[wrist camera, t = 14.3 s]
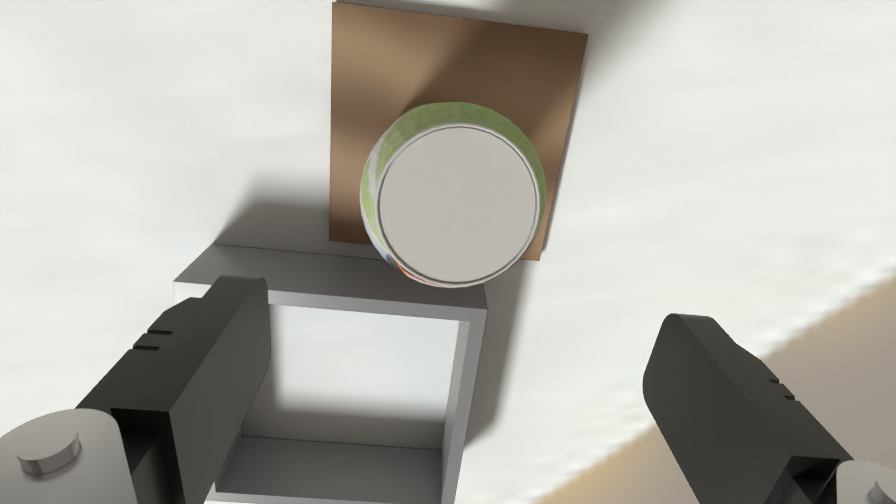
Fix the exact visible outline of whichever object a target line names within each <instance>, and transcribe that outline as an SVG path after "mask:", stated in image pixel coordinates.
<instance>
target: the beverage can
mask: <svg viewBox="0 0 896 504" xmlns="http://www.w3.org/2000/svg"><path fill="white" fill-rule="evenodd" d="M545 205H546V182H545V176H544V170H543V168H542V165H541V162H540V159H539V156H538V154H537V152H536V151H535V149H534V147H533V145H532V144H531V142H530V140H529V139H528V138H527V137H526V136H525V134H524V133H523V132H522V131H521V130H520V129H519V128H518V127H517V126H516V125H515V124H513V123H512V122H511V121H510V120H509V119H507V118H506V117H504V116H503V115H501V114H499V113H497V112H495V111H493V110H491V109H489V108H486V107H483V106H480V105H476V104H471V103H464V102H444V103H428V104H424V105H420V106H417V107H415V108H412V109H410V110H408V111H406V112H405V113H404V114H402V115H401V116H399V117H398V118H397V119H396V120H395V121H394V122H393V123H392V124H391V125H390V126H389V128H388V129H387V130H386V131H385V132H384V133H383V135H382V136H381V137H380V139H379V140H378V142H377V143H376V145H375V146H374V147H373V149H372V151H371V153H370V155H369V157H368V159H367V161H366V164H365V167H364V171H363V174H362V178H361V185H360V206H361V215H362V218H363V222H364V225H365V228H366V231H367V233H368V235H369V237H370V239H371V241H372V243H373V245H374V246H375V247H376V249H377V250H378V251H379V253H380V254H381V256H382V257H383V258H384V259H385V260H386V261H387V262H388V263H389V264H390V265H392V266H393V267H394V268H395V269H396V270H398V271H399V272H401V273H402V274H404V275H405V276H407V277H409V278H411V279H414V280H416V281H418V282H420V283H424V284H427V285H431V286H435V287H445V288H458V287H468V286H472V285H476V284H480V283H483V282H486V281H488V280H490V279H493V278H495V277H497V276H498V275H500V274H501V273H503V272H505V271H506V270H508V269H509V268H510V267H511V266H513V265H514V264H515V263H516V262H517V261H518V260H519V259H520V258H521V257H522V256H523V255H524V253H525V252H526V251H527V250H528V249H529V247H530V246H531V244H532V242H533V241H534V239H535V237H536V235H537V233H538V231H539V228H540V226H541V223H542V220H543V216H544V211H545Z"/></svg>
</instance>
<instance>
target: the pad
mask: <svg viewBox="0 0 896 504" xmlns="http://www.w3.org/2000/svg"><path fill="white" fill-rule="evenodd" d="M587 38H588V34H583V33H575V32H567V31H559V30H551V29H543V28H535V27H528V26H520V25H512V24H504V23H496V22H488V21H480V20H472V19H465V18H457V17H449V16H441V15H433V14H425V13H417V12H410V11H402V10H394V9H386V8H378V7H370V6H362V5H354V4H347V3H339V2H332V65H331V147H330V229H329V241H338V242H348V243H359V244H369V245H373V243H372V241H371V239H370V237H369V235H368V233H367V231H366V228H365V225H364V222H363V218H362V215H361V206H360V185H361V178H362V174H363V171H364V167H365V164H366V161H367V159H368V157H369V155H370V153H371V151H372V149H373V147H374V146H375V145H376V143H377V142H378V140H379V139H380V137H381V136H382V135H383V133H384V132H385V131H386V130H387V129H388V128H389V126H390V125H391V124H392V123H393V122H394V121H395V120H396V119H397V118H398V117H399V116H401V115H402V114H404V113H405V112H406V111H408V110H410V109H412V108H415V107H417V106H420V105H424V104H428V103H444V102H464V103H471V104H476V105H480V106H483V107H486V108H489V109H491V110H493V111H495V112H497V113H499V114H501V115H503V116H504V117H506V118H507V119H509V120H510V121H511V122H512V123H513V124H515V125H516V126H517V127H518V128H519V129H520V130H521V131H522V132H523V133H524V134H525V136H526V137H527V138H528V139H529V140H530V142H531V144H532V145H533V147H534V149H535V151H536V152H537V154H538V156H539V159H540V162H541V165H542V168H543V170H544V176H545V182H546V205H545V211H544V216H543V220H542V223H541V226H540V228H539V231H538V233H537V235H536V237H535V239H534V241H533V242H532V244H531V246H530V247H529V249H528V250H527V251H526V252H525V253H524V255H523V256H522V257H521V258H520V259H525V260H535V261H540V256H541V251H542V247H543V242H544V237H545V233H546V228H547V224H548V219H549V214H550V210H551V205H552V200H553V196H554V191H555V186H556V182H557V177H558V172H559V168H560V163H561V159H562V154H563V149H564V145H565V140H566V135H567V131H568V126H569V121H570V117H571V112H572V107H573V103H574V98H575V94H576V89H577V84H578V80H579V75H580V70H581V66H582V61H583V56H584V52H585V47H586V42H587Z"/></svg>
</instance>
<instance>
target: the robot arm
mask: <svg viewBox="0 0 896 504" xmlns="http://www.w3.org/2000/svg"><path fill="white" fill-rule="evenodd" d="M270 351H271V336H270V319H269V302H268V287H267V282H266V280H265V278H264V277H256V276H244V275H233V274H222V275H220V276H219V278H218V279H217V280H216V281H215V282H214V284H213V285H212V286H211V287H210V288H209V289H208V291H207V292H206V293H205V294H204V295H203V297H202V298H196V297H189V298H187V299H185V300H184V301H182V302H180V303H178V304H176V305H175V306H173V307H171V308H169V309H168V310H166V311H164V312H163V313H162V314H161V315H160V317H159V318H158V319H157V320H156V321H155V322H154V323H153V324H152V325H151V326H150V327H149V328H148V331H147V333H144V334H143V335H142V336H141V337H140V338H139V339H138V340H137V341H136V343H135V344H134V345H133V349H129V350H128V351H127V352H126V353H125V354H124V356H123V357H122V358H121V359H120V360H119V361H118V362H117V363H116V364H115V365H114V366H113V367H112V369H111V370H110V371H109V372H108V373H107V374H106V375H105V376H104V377H103V378H102V379H101V380H100V382H99V383H98V384H97V385H96V386H95V387H94V388H93V389H92V390H91V391H90V392H89V394H88V395H87V396H86V397H85V398H84V399H83V400H82V401H81V402H80V403H79V404H78V405H77V407H76V408H75V409H69V410H63V411H58V412H54V413H50V414H47V415H44V416H41V417H38V418H35V419H33V420H31V421H29V422H26V423H24V424H22V425H20V426H18V427H17V428H15V429H13V430H11V431H10V432H8V433H7V434H5V435H4V436H2V437H1V438H0V504H204V502H205V499H206V497H207V495H208V493H209V491H210V489H211V487H212V485H213V483H214V481H215V479H216V477H217V474H218V472H219V470H220V468H221V466H222V464H223V462H224V460H225V458H226V456H227V454H228V451H229V449H230V447H231V445H232V443H233V441H234V439H235V437H236V435H237V433H238V431H239V429H240V426H241V424H242V422H243V420H244V418H245V416H246V414H247V412H248V410H249V408H250V406H251V403H252V401H253V399H254V397H255V395H256V393H257V391H258V389H259V387H260V385H261V383H262V380H263V378H264V376H265V374H266V371H267V368H268V364H269V359H270ZM643 395H644V399H645V402H646V404H647V406H648V408H649V410H650V412H651V414H652V416H653V418H654V420H655V421H656V423H657V425H658V427H659V429H660V431H661V433H662V434H663V436H664V438H665V440H666V442H667V444H668V446H669V447H670V449H671V451H672V453H673V455H674V457H675V459H676V460H677V462H678V464H679V466H680V468H681V470H682V472H683V473H684V475H685V477H686V479H687V481H688V483H689V485H690V487H691V488H692V490H693V492H694V494H695V496H696V498H697V500H698V501H699V503H700V504H896V472H895V471H893V470H891V469H888V468H886V467H884V466H881V465H877V464H875V463H871V462H866V461H859V460H854V459H853V458H852V457H851V456H850V455H849V454H848V453H847V452H846V451H845V449H844V448H843V447H842V446H841V445H840V444H839V443H838V442H837V441H836V440H835V439H834V438H833V437H832V436H831V435H830V433H829V432H828V431H827V430H826V429H825V428H824V427H823V426H822V425H821V424H820V423H819V422H818V421H817V420H816V419H815V417H813V415H812V414H811V413H810V412H809V411H808V410H807V409H806V408H805V407H804V406H803V405H802V404H801V403H800V401H795V398H794V397H795V396H794V395H793V394H792V393H791V392H790V391H789V390H788V389H787V388H786V387H785V386H784V384H780V383H779V379H778V378H777V377H776V376H775V375H774V374H773V373H772V372H771V371H770V370H769V368H768V367H767V366H766V365H765V364H764V363H763V362H762V361H761V360H760V359H758V358H757V357H755V356H754V355H752V354H751V353H749V352H748V351H746V350H745V349H744V348H742V347H741V346H739V345H738V344H736V343H735V342H734V341H733V340H732V339H731V337H730V336H729V335H728V334H727V333H726V332H725V331H724V330H723V329H722V328H721V326H720V325H719V324H718V323H717V322H716V321H715V320H714V319H713V318H711V317H708V316H698V315H686V314H675V313H673V314H669V315H668V316H667V317H666V318H665V319H664V321H663V323H662V326H661V328H660V331H659V334H658V337H657V339H656V342H655V345H654V348H653V350H652V353H651V356H650V359H649V361H648V364H647V367H646V370H645V373H644V377H643Z"/></svg>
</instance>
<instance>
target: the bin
mask: <svg viewBox="0 0 896 504" xmlns="http://www.w3.org/2000/svg"><path fill="white" fill-rule="evenodd" d="M222 274H233V275H244V276H256V277H264V278H265V280H266V282H267V287H268V302H269V304H275V305H287V306H298V307H310V308H321V309H333V310H344V311H356V312H367V313H378V314H390V315H401V316H413V317H424V318H436V319H447V320H458V321H460V322H459V329H458V336H457V342H456V349H455V356H454V363H453V370H452V376H451V383H450V390H449V397H448V404H447V411H446V417H445V424H444V431H443V438H442V445H441V450H429V449H415V448H400V447H386V446H372V445H358V444H343V443H329V442H315V441H301V440H287V439H272V438H258V437H244V436H242V427H241V426H240V429H239V431H238V433H237V435H236V437H235V439H234V441H233V443H232V445H231V447H230V449H229V451H228V454H227V456H226V458H225V460H224V462H223V464H222V466H221V468H220V470H219V472H218V474H217V477H216V479H215V481H214V483H213V485H212V487H211V489H210V491H209V493H208V495H207V497H206V499H205V500H207V501H223V502H239V503H255V504H454V501H455V495H456V489H457V483H458V478H459V472H460V466H461V460H462V454H463V449H464V443H465V437H466V431H467V426H468V420H469V414H470V408H471V403H472V397H473V391H474V385H475V380H476V374H477V368H478V362H479V357H480V351H481V345H482V339H483V333H484V328H485V322H486V316H487V310H488V309H487V303H486V297H485V291H484V285H483V283H480V284H476V285H472V286H468V287H458V288H445V287H435V286H431V285H427V284H424V283H420V282H418V281H416V280H414V279H411V278H409V277H407V276H405V275H404V274H402V273H401V272H399V271H398V270H396V269H395V268H394V267H393V266H392V265H390V264H389V263H388V262H387V261H386V260H376V259H365V258H355V257H344V256H334V255H323V254H312V253H302V252H291V251H281V250H270V249H260V248H249V247H238V246H228V245H217V244H211V245H210V246H209V247H208V248H207V249H206V250H205V251H204V252H203V253H202V254H201V255H200V256H199V257H198V258H197V259H196V260H195V261H193V262H192V263H191V264H190V265H189V266H188V267H187V268H186V269H185V270H184V271H183V272H182V273H181V274H180V275H179V276H178V277H177V278H176V279H175V280H174V281H173V287H174V294H175V301H176V304H178V303H180V302H182V301H184V300H185V299H187V298H189V297H196V298H202V297H203V295H204V294H205V293H206V292H207V291H208V289H209V288H210V287H211V286H212V285H213V284H214V282H215V281H216V280H217V279H218V278H219V276H220V275H222Z"/></svg>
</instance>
